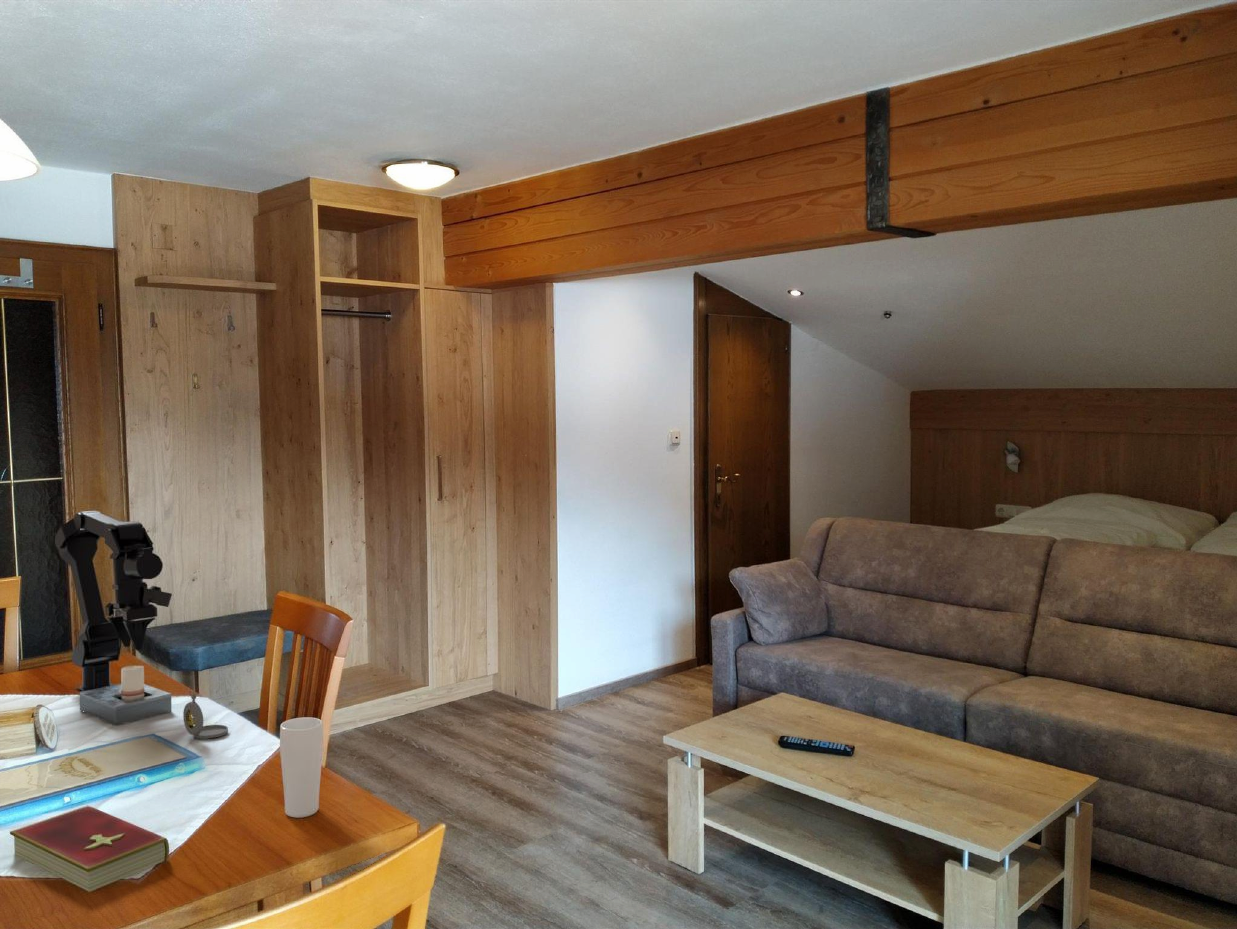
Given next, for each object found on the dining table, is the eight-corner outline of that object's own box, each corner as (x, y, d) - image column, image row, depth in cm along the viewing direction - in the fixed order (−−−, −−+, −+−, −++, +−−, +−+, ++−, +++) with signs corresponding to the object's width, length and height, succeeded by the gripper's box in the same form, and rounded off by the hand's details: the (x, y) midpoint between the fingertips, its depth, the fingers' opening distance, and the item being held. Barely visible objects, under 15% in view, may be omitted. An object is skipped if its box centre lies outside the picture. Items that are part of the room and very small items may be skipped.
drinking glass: (311, 800, 165) (311, 714, 164) (330, 812, 160) (330, 723, 159) (273, 811, 160) (272, 722, 159) (291, 824, 155) (291, 733, 154)
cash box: (79, 710, 211) (79, 692, 211) (134, 697, 221) (134, 680, 220) (115, 725, 201) (115, 706, 201) (171, 711, 211) (171, 693, 211)
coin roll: (116, 715, 208) (115, 669, 207) (133, 709, 212) (132, 664, 212) (132, 717, 206) (132, 671, 206) (149, 711, 211) (148, 666, 210)
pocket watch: (233, 730, 200) (233, 682, 199) (213, 744, 191) (212, 694, 191) (196, 728, 201) (195, 680, 200) (173, 742, 192) (173, 692, 192)
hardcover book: (90, 828, 154) (90, 802, 153) (169, 863, 142) (169, 835, 142) (10, 857, 144) (9, 829, 143) (88, 897, 132) (87, 867, 132)
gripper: (179, 575, 214) (184, 646, 214) (154, 573, 228) (158, 639, 228) (125, 582, 206) (129, 655, 206) (102, 579, 220) (106, 647, 220)
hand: (133, 648), depth 215 cm, fingers open, 9 cm apart
